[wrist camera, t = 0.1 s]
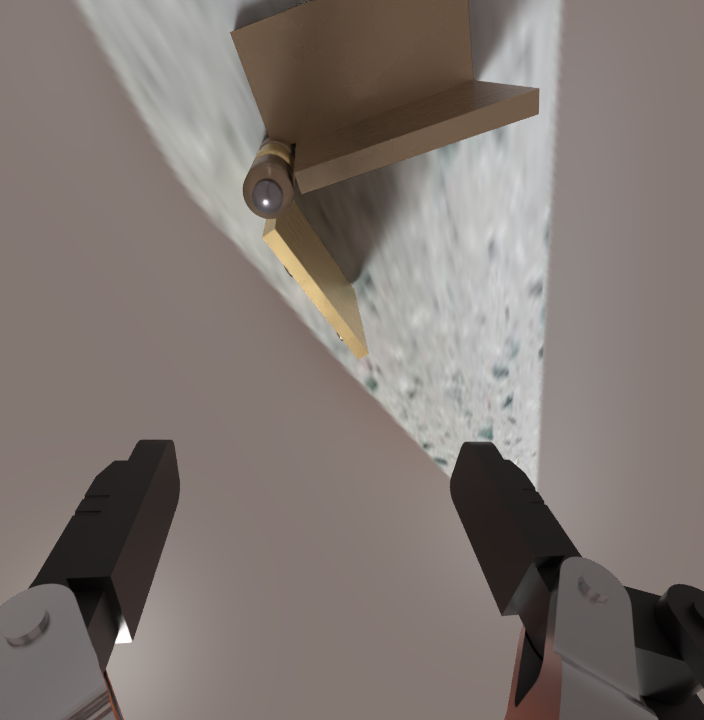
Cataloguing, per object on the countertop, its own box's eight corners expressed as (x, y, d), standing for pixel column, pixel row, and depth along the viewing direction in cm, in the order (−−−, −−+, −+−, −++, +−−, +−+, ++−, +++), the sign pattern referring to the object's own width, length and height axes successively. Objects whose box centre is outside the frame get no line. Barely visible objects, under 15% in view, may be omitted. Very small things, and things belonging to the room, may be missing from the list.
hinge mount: (213, 40, 22) (162, 30, 14) (456, -54, 21) (556, -126, 13) (268, 179, 27) (254, 230, 19) (469, 109, 25) (546, 133, 17)
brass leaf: (244, 155, 25) (221, 193, 18) (281, 127, 24) (272, 155, 17) (343, 295, 32) (355, 361, 25) (374, 277, 32) (395, 339, 25)
